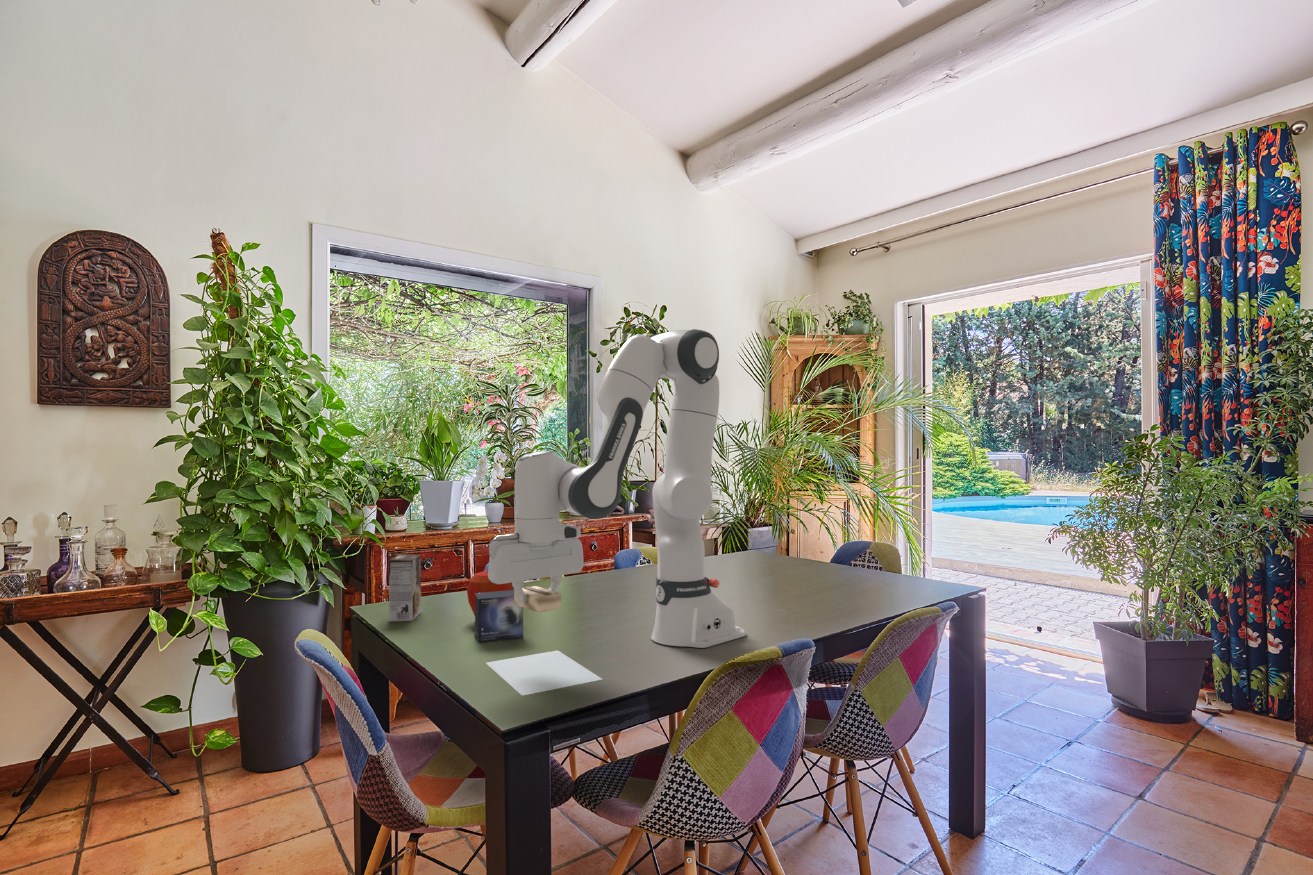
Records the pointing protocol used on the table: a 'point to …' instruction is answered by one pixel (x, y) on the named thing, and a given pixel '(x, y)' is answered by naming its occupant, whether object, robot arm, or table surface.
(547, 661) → the rubber mat
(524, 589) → the slotted wooden box
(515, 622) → the small box
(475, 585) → the apple
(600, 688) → the table surface
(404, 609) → the coffee box
